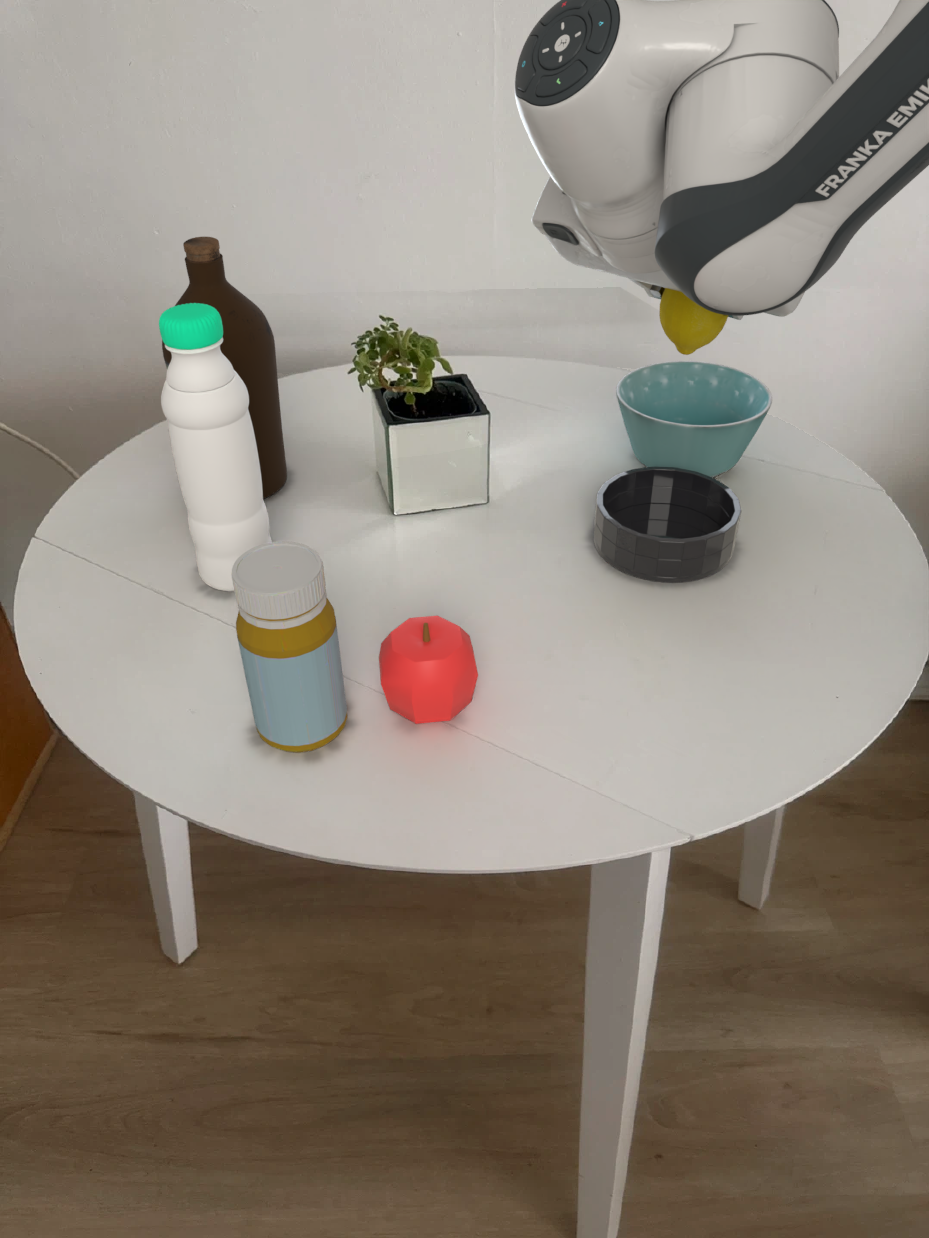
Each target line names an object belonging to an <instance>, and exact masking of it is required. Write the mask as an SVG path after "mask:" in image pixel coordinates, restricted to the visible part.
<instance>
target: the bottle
mask: <svg viewBox="0 0 929 1238" xmlns="http://www.w3.org/2000/svg"><path fill="white" fill-rule="evenodd" d="M231 575H232V582H233V587H234V591H233V592H234V595H235V601H236V604H237V609H238V611H237V612H238V613H237V616H236V620H235V631H236V637H237V643H238V647H239V653H240V656H241V662H242V663H241V664H242V667H243V672H244V677H245V682H246V686H247V691H248V696H249V697H248V698H249V701H250V706H251V711H252V715H253V721H254V725H255V728H256V732H257V734H258V735H259V737H260V739H261V740H262V741H263V742H264V743H266V744H267V745H268V746H269V747H272V748H274V749H277V750H280V751H282V752H283V751H284V752H286V753H296V754H297V753H298V754H299V753H307V752H312V751H315V750H318V749H321V748H323V747H325V746H326V745H328V744H329V743H330V742H332V741H333V740H335V739H336V738H337V737H338V736H339V735H340V733H342V731H343V729H344V728H345V726H346V724H347V720H348V707H347V706H348V705H347V698H346V689H345V684H344V682H345V681H344V675H343V666H342V658H341V657H342V656H341V650H340V649H341V648H340V642H339V633H338V626H337V618H336V613H335V609H334V607H333V605H332V603H331V602H330V600H329V598H328V594H327V589H326V585H327V584H326V577H325V569H324V563H323V560H322V558H321V555H320V554H319V552H318V551H316V550H315V548H313V547H311V546H309V545H307V544H305V543H301V542H298V541H297V542H296V541H287V540H285V541H282V540H281V541H272V542H271V543H266V544H262V545H259V546H256V547H254V548H252V549H250V550H248V551H246V552H245V553H243V554H242V555H241V556H240V557H239V558H238V559H237V560H236V561H235V563H234V565H233V567H232V573H231Z"/></svg>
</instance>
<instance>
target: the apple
mask: <svg viewBox="0 0 929 1238" xmlns="http://www.w3.org/2000/svg"><path fill="white" fill-rule="evenodd" d="M378 665H379V677H380V678H379V679H380V685H381V689H382V691H383V694H384V696H385V700H386V702H387V705H388V708H389V710H390V711H392V712H394V713H396V714H398V715H400V716H401V717H403V718H405V719H407V720H408V721H410V722H412V723H413V724H416V725H418V724H429V723H430V724H431V723H441V722H449V721H452V720H453V719H454V718H455V717H457V715H458V714H460V713H461V712H462V711H463V710H464V709H465V708H466V707H467V706H468V705H470V704H471V703H472V701H473V697H474V694H475V689H476V686H477V682H478V679H479V672H478V668H477V662H476V657H475V652H474V648H473V643H472V639H471V636H470V634H468V632H466V631H465V630H464V629H463V628H462V627H461V626H460V625H458V624H456V623H454V622H452V621H449V620H448V619H446V618H444V617H442V616H439V615H437V614H436V615H427V616H426V615H425V616H415V617H408V618H407V619H406V620H404V622H402V623H401V624H400V625H398V626H397V627H395V628H394V629H393V630H392V631H390V633H389V634H388V635H387V636H386V637H385V638H384V639H383V641H382V642H381V643H380V648H379V654H378Z"/></svg>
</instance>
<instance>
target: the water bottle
mask: <svg viewBox="0 0 929 1238" xmlns="http://www.w3.org/2000/svg"><path fill="white" fill-rule="evenodd" d="M158 328H159V335H160V338H161V341H162V340H163V342H164V344H165V348H166V349H167V350H169V351H170V352H171V354H172V359H171V362H170V364H169V366H168V369H167V368H166V374H165V375H166V376H165V377H166V378H165V381H164V383H163V387H162V391H161V394H160V405H161V410H162V413H163V415H164V417H165V418H166V420H167V428H168V429H167V430H168V436H169V443H170V447H171V454H172V458H173V463H174V468H175V471H176V475H177V476H176V477H177V479H178V484H179V488H180V492H181V496H182V498H183V499H182V500H184V504H185V507H186V510H187V525H188V529H189V534H190V537H191V540H192V542H193V545H194V553H195V555H194V556H195V562H196V566H197V571H198V574H199V578H200V579H201V580H202V582H203V583H204V584H206V585H207V586H209V587H210V588H213V589H215V590H219V591H223V592H234V587H233V582H232V575H231V573H232V567H233V565H234V563H235V561H236V560H237V559H238V558H239V557H240V556H241V555H242V554H243V553H245V552H246V551H248V550H250V549H252V548H254V547H256V546H259V545H262V544H266V543H271V542H273V541H272V538H271V535H270V519H269V513H268V509H267V506H266V503H265V501H264V499H263V490H262V479H261V471H260V464H259V457H258V451H257V445H256V440H255V435H254V430H253V425H252V421H251V417H250V414H249V410H248V406H249V395H248V391H247V388H246V386H245V384H244V382H243V381H242V379H241V378H240V376H239V375H238V374H237V372H236V371H235V370H234V369H233V366H232V364H231V363H230V361H229V360H228V359H227V358H226V357H225V356H224V355H223V354H222V352H221V350H220V345H221V344H222V342H223V337H222V336H223V325H222V320H221V316H220V314H219V312H218V311H217V310H216V309H215V308H214V307H212V306H210V305H207V304H200V303H189V304H187V303H186V304H181V305H177V306H175V305H174V306H171V307H169V308H167V309H166V310H164V311H163V312H162V313H161V314H160V316H159V319H158Z"/></svg>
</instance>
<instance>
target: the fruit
mask: <svg viewBox="0 0 929 1238" xmlns="http://www.w3.org/2000/svg"><path fill="white" fill-rule="evenodd" d="M658 314H659V322H660V325H661V328H662V330H663V332H664V334H665V336H666V337H667V338H668V339H669V341H670V342H671V343H673V344H674V346H675V348H676V350H677V352H678V353H680V354H681V355H683V356H684V355H685V356H688V355H692V354H694V353H695V352H696V351H697V350H699V349H701V348H703V347H704V346H707V345H709V344H711V343H712V342H713V341H714V340H716V338H717V337H718V336H719V335H720V333H721V332H722V331H723V329H724V327H725V325H726V323H727V320H728V318H729V317H727V316H723V314H718V313H714V312H711V311H709V310H707V309H705V308H703V307H701V306H700V305H698V304H696V303H695V302H694V301H692V300H691V299H690V298H688V297H687V296H686V295H685V294H684V293H682V292H680V291H677V290H673V289H669V288H665V290H664V292H663V295H662V298H661V299H660V301H659V313H658Z"/></svg>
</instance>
